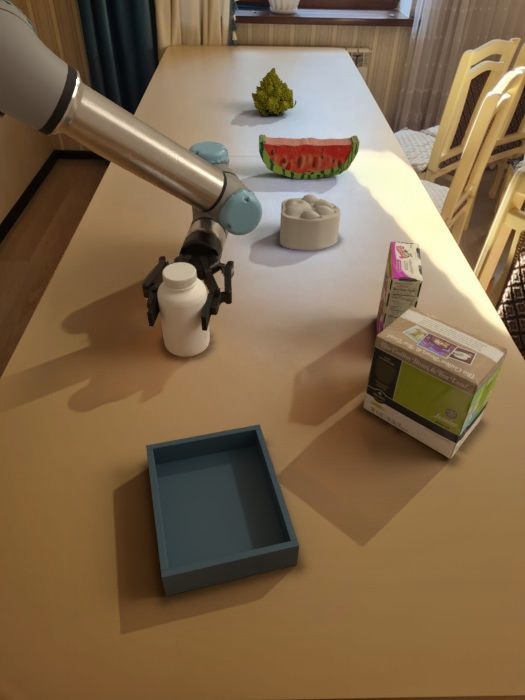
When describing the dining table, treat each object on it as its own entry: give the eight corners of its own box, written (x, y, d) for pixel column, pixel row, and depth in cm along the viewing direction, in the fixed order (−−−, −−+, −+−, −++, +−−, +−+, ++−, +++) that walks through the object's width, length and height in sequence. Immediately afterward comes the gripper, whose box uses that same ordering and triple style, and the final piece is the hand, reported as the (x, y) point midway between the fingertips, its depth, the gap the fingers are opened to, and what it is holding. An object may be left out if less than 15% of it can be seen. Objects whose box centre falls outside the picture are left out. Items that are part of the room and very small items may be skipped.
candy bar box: (374, 317, 101) (389, 239, 90) (402, 320, 100) (420, 242, 89) (374, 357, 92) (391, 276, 81) (404, 361, 92) (425, 280, 81)
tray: (150, 465, 75) (145, 445, 72) (259, 444, 78) (259, 424, 75) (165, 596, 61) (161, 577, 58) (297, 564, 64) (299, 545, 61)
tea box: (480, 421, 82) (511, 348, 72) (449, 462, 76) (478, 387, 66) (394, 375, 89) (412, 302, 79) (360, 408, 83) (374, 334, 74)
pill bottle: (157, 354, 92) (145, 280, 82) (174, 325, 98) (165, 253, 88) (201, 362, 91) (195, 288, 81) (215, 332, 97) (211, 260, 87)
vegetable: (272, 89, 194) (281, 56, 180) (296, 122, 192) (306, 92, 178) (237, 103, 190) (244, 71, 176) (261, 138, 188) (270, 108, 173)
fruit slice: (258, 179, 146) (259, 142, 139) (258, 169, 150) (258, 133, 144) (355, 180, 146) (360, 142, 140) (352, 170, 151) (356, 134, 144)
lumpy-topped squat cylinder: (280, 225, 126) (282, 190, 121) (336, 228, 126) (340, 193, 120) (279, 248, 119) (280, 212, 113) (338, 251, 118) (342, 215, 112)
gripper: (257, 268, 104) (242, 344, 87) (151, 261, 105) (116, 335, 88) (257, 233, 99) (241, 307, 82) (146, 226, 100) (108, 298, 83)
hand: (177, 321), depth 85 cm, fingers closed on pill bottle, 8 cm apart
